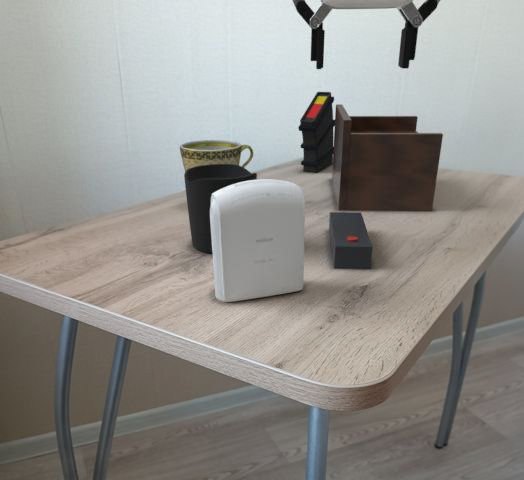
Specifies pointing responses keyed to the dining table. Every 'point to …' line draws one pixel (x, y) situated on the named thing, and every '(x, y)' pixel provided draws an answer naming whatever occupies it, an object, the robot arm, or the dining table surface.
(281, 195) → the photo printer
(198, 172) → the pen holder
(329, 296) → the dining table surface
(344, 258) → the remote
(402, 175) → the wooden storage bin
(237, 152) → the ceramic cup
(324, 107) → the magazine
